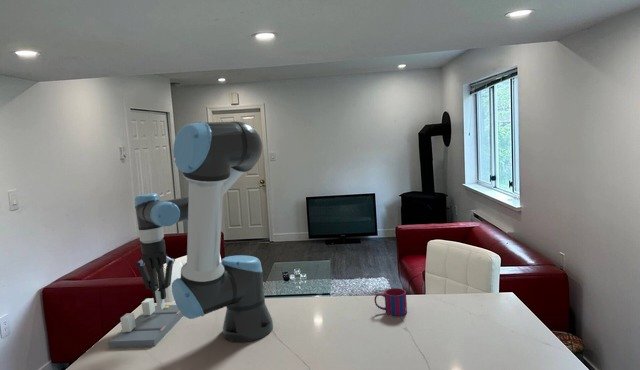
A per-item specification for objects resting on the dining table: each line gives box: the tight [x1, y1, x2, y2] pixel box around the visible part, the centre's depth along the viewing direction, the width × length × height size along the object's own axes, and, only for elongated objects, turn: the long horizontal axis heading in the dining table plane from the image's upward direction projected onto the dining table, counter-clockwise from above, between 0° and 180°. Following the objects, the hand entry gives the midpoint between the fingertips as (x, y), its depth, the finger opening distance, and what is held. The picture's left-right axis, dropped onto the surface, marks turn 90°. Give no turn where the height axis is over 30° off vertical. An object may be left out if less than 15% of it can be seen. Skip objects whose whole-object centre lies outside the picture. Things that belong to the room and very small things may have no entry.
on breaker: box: [120, 312, 136, 332], centre depth 131 cm, size 4×2×4 cm
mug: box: [374, 287, 408, 318], centre depth 134 cm, size 7×10×7 cm
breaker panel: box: [108, 304, 185, 349], centre depth 137 cm, size 26×14×2 cm, turn 175°
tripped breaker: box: [141, 297, 156, 315], centre depth 143 cm, size 4×2×4 cm
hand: (161, 308), depth 142 cm, fingers closed
